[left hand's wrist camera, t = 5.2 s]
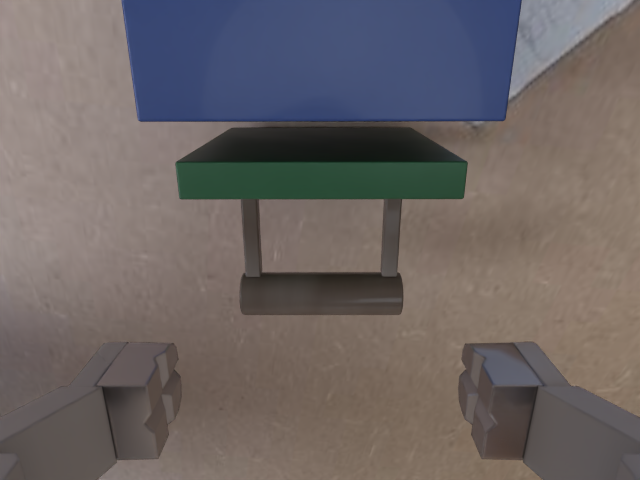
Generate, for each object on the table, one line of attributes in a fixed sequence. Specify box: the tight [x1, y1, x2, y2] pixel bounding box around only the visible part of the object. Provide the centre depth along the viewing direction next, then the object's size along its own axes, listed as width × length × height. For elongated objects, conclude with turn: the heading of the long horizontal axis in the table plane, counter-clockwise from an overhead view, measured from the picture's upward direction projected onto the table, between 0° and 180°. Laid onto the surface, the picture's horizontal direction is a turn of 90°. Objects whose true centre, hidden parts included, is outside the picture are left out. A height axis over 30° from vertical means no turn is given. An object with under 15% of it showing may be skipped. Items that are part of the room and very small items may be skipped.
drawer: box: [176, 128, 468, 315], centre depth 17 cm, size 20×9×9 cm, turn 0°
